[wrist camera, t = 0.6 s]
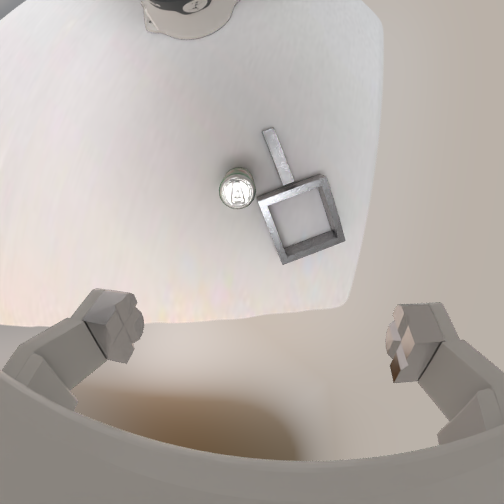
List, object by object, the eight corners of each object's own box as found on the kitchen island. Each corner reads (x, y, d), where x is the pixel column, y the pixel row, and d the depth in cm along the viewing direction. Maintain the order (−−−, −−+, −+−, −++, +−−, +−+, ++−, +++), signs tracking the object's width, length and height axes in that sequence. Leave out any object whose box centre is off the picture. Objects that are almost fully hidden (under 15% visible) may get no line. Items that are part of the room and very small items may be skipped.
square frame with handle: (234, 142, 46) (233, 142, 43) (299, 118, 45) (304, 116, 41) (279, 256, 54) (282, 264, 51) (338, 233, 53) (345, 240, 49)
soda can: (225, 196, 50) (220, 212, 39) (222, 168, 48) (216, 176, 37) (254, 194, 50) (257, 209, 39) (251, 165, 48) (254, 172, 37)
